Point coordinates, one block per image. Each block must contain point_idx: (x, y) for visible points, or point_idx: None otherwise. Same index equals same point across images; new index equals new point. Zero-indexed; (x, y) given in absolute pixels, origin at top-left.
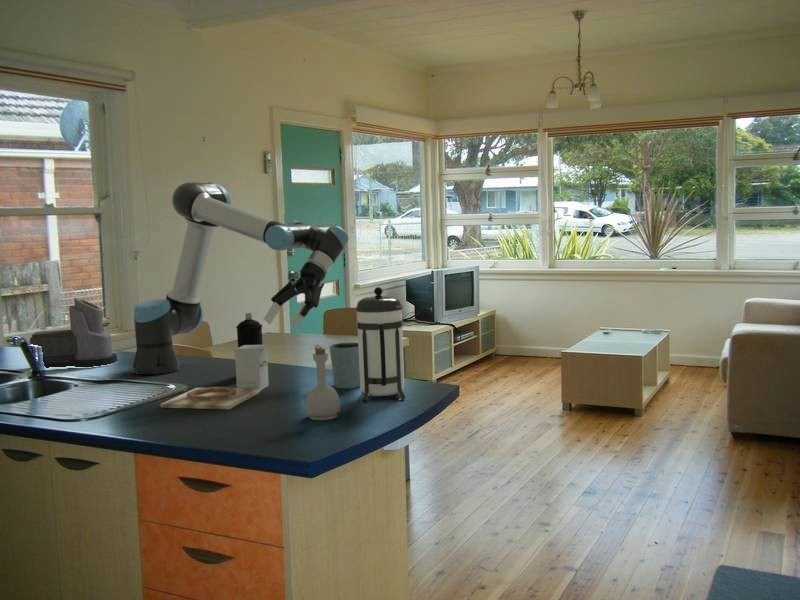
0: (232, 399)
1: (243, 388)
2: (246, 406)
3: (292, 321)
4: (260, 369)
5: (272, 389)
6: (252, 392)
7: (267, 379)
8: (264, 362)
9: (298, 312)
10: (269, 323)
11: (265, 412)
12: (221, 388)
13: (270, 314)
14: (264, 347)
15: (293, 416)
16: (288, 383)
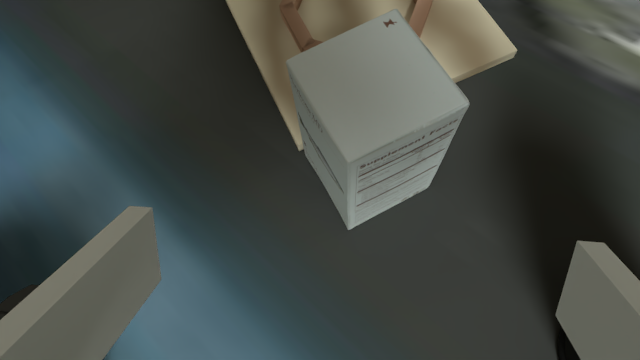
0: (260, 16)
1: None
2: (196, 22)
3: (137, 210)
4: (302, 127)
5: (294, 203)
6: (276, 98)
7: (342, 213)
8: (324, 159)
9: (64, 264)
10: (559, 306)
11: (100, 11)
12: None
13: (607, 316)
14: (327, 135)
15: (4, 22)
16: (319, 314)
